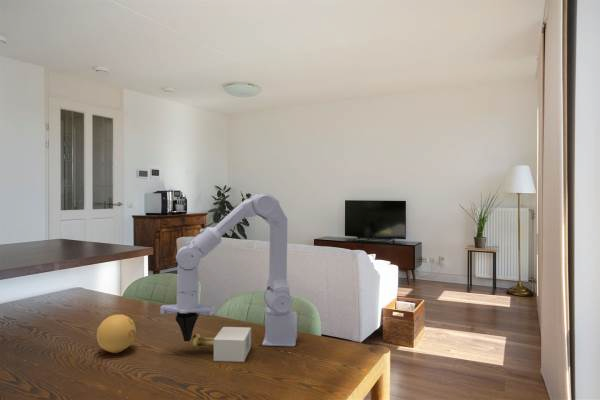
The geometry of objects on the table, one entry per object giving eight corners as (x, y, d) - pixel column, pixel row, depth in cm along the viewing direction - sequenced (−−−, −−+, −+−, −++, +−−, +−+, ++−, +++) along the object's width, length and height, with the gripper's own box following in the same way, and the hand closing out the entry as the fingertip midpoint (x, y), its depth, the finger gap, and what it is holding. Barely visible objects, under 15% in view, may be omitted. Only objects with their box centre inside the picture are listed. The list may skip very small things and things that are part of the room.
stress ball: (101, 363, 106) (131, 339, 106) (81, 333, 107) (111, 308, 107) (122, 355, 115) (149, 332, 116) (103, 327, 117) (130, 304, 117)
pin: (241, 347, 112) (241, 333, 112) (238, 353, 108) (238, 338, 108) (196, 346, 113) (196, 331, 113) (192, 351, 109) (192, 336, 109)
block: (250, 347, 115) (251, 327, 115) (244, 361, 105) (244, 340, 105) (223, 346, 116) (223, 326, 116) (213, 360, 106) (213, 339, 106)
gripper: (155, 293, 107) (155, 344, 108) (209, 294, 107) (209, 346, 107) (166, 287, 114) (166, 335, 115) (216, 288, 114) (216, 336, 114)
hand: (187, 340), depth 111 cm, fingers closed
